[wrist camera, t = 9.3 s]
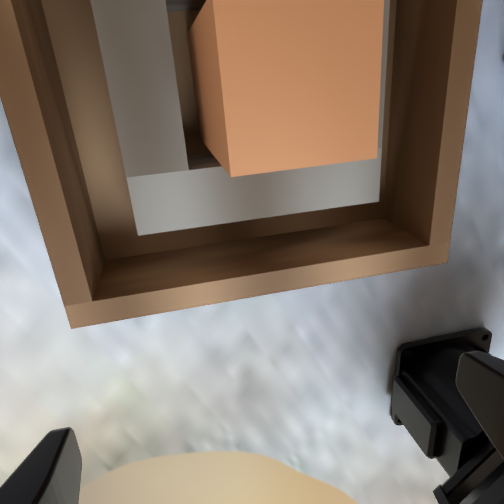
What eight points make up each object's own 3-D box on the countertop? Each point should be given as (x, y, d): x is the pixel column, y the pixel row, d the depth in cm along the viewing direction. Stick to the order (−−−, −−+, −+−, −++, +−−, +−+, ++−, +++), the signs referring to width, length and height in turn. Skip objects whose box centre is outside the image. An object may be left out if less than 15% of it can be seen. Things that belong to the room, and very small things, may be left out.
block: (284, 27, 16) (384, -19, 9) (288, 128, 18) (377, 158, 11) (186, 34, 16) (211, -10, 8) (200, 138, 17) (230, 177, 10)
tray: (421, -157, 15) (515, -242, 11) (393, 229, 22) (447, 262, 18) (-29, -166, 13) (-117, -283, 9) (89, 277, 19) (71, 328, 15)
